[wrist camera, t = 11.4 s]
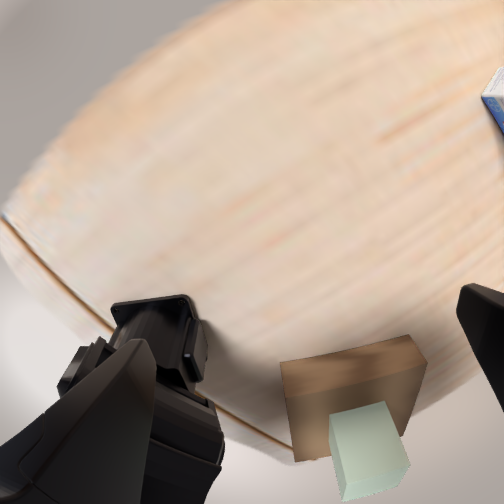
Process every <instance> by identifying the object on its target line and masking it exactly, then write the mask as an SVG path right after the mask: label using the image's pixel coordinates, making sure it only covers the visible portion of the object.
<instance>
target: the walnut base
mask: <svg viewBox="0 0 504 504" xmlns="http://www.w3.org/2000/svg"><path fill="white" fill-rule="evenodd" d="M280 366H281V373H282V380H283V387H284V393H285V400H286V407H287V413H288V419H289V426H290V432H291V439H292V445H293V452H294V459H295V462H300V461H306V460H312V459H317V458H322V457H327V456H332V454H331V450H330V446H329V415H330V414H334V413H339V412H343V411H347V410H352V409H356V408H360V407H364V406H367V405H371V404H375V403H378V402H382V401H385V403H386V405H387V408H388V410H389V412H390V415H391V417H392V419H393V422H394V424H395V427H396V429H397V432H398V434H399V437H401V436H403V434H404V431H405V429H406V426H407V424H408V421H409V419H410V416H411V413H412V410H413V407H414V405H415V402H416V399H417V396H418V393H419V390H420V386H421V383H422V380H423V377H424V373H425V370H426V366H427V361H426V360H425V358H424V357H423V355H422V354H421V352H420V350H419V349H418V347H417V346H416V344H415V343H414V341H413V340H412V338H411V337H410V335H409V334H408V335H405V336H401V337H398V338H394V339H390V340H386V341H382V342H379V343H375V344H371V345H366V346H362V347H358V348H354V349H349V350H345V351H340V352H335V353H331V354H326V355H321V356H316V357H310V358H305V359H299V360H294V361H288V362H282V363H280Z"/></svg>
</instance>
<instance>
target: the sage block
mask: <svg viewBox="0 0 504 504" xmlns="http://www.w3.org/2000/svg"><path fill="white" fill-rule="evenodd" d="M329 446H330V450H331V454H332V459H333V463H334V468H335V472H336V477H337V481H338V486H339V490H340V495H341V500H342V502H345V501H348V500H353V499H357V498H360V497H364V496H368V495H372V494H375V493H378V492H381V491H385V490H388V489H391V488H394V487H397V486H398V484H399V483H400V481H401V479H402V478H403V476H404V475H405V473H406V471H407V470H408V468H409V466H410V462H409V459H408V457H407V454H406V452H405V449H404V447H403V444H402V442H401V439H400V437H399V434H398V432H397V429H396V427H395V424H394V422H393V419H392V417H391V415H390V412H389V410H388V408H387V405H386V403H385V401H382V402H378V403H375V404H371V405H367V406H364V407H360V408H356V409H352V410H347V411H343V412H339V413H334V414H330V415H329Z"/></svg>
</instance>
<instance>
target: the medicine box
mask: <svg viewBox="0 0 504 504" xmlns="http://www.w3.org/2000/svg"><path fill="white" fill-rule="evenodd" d="M482 99H483V100H484V102H485V103H486V105H487V106H488V108H489V110H490V111H491V113H492V114H493V116H494V118H495V119H496V121H497V123H498V125H499V126H500V128H501V130H502V131H503V133H504V67H499V68H498V70H497V71H496V73H495V75H494V76H493V78H492V79H491V81H490V82H489V84H488V86H487V87H486V89H485V90H484V92H483V93H482Z"/></svg>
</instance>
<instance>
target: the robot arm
mask: <svg viewBox="0 0 504 504" xmlns="http://www.w3.org/2000/svg"><path fill="white" fill-rule="evenodd" d="M180 300H183V301H184V302H185V303H181V302H180ZM115 308H116V309H118V310H119V311H117V310H116V309H115ZM111 313H112V315H113V317H114V320H115V322H116V324H117V327H116V329H115V331H114V333H113V335H112V337H111V339H110V341H109V343H106V340H104V339H103V338H101V337H100V336H99V337H98V339H97V341H96V342H95V344H94V343H93V342H92V343H91V345H90V346H80V347H79V349H78V351H77V353H76V354H75V356H74V358H73V360H72V361H71V363H70V364H69V366H68V368H67V369H66V371H65V373H64V374H63V376H62V378H61V379H60V381H59V383H58V385H57V389H58V393H59V396H60V399H59V400H58V401H57V402H55V403H54V404H53V405H52V406H51V407H50V408H48V409H47V410H46V411H45V414H44V413H42V414H41V415H40V416H39V417H38V418H37V419H35V420H34V421H33V422H32V423H31V424H29V425H28V426H27V427H26V428H24V429H23V430H22V431H21V432H20V433H18V434H17V435H15V436H14V437H13V438H11V439H10V440H9V441H7V442H6V443H4V444H3V445H2V446H0V504H204V502H205V499H206V496H207V494H208V492H209V489H210V488H211V485H212V483H213V481H214V480H215V479H216V477H217V476H218V475H219V473H220V471H221V469H222V467H221V466H220V465H221V463H222V460H223V457H224V452H225V442H224V434H223V432H222V431H221V427H220V424H219V420H218V416H217V413H216V409H215V406H214V402H213V401H211V400H208V399H203V398H201V397H199V396H197V395H195V394H194V392H195V385H196V383H199V382H202V380H203V377H204V369H205V362H206V361H207V346H208V345H207V341H206V338H205V335H204V332H203V329H202V326H201V323H200V321H199V320H198V319H195V316H194V313H193V310H192V307H191V304H190V300H189V298H188V297H187V296H186V295H183V294H180V295H173V296H166V297H159V298H151V299H144V300H136V301H128V302H120V303H114V304H113V305H112V307H111ZM456 314H457V317H458V319H459V322H460V324H461V326H462V328H463V330H464V332H465V334H466V336H467V339H468V341H469V343H470V345H471V348H472V350H473V352H474V354H475V356H476V358H477V360H478V362H479V364H480V366H481V368H482V369H483V371H484V373H485V375H486V377H487V379H488V381H489V383H490V385H491V387H492V389H493V391H494V393H495V395H496V397H497V399H498V401H499V403H500V405H501V407H502V410H503V412H504V293H502V292H499V291H496V290H493V289H490V288H487V287H484V286H481V285H478V284H475V283H471V284H467V285H464V286H463V287H462V288H461V290H460V295H459V299H458V304H457V308H456Z"/></svg>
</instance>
